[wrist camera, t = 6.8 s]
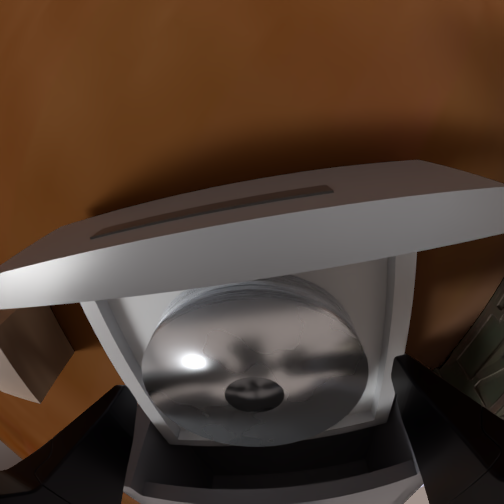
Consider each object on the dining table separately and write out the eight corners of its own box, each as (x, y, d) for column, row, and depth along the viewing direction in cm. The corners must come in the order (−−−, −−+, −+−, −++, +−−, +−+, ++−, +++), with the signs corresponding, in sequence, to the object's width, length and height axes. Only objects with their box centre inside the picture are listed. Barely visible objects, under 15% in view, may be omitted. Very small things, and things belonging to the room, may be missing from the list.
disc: (351, 402, 10) (359, 432, 9) (191, 418, 11) (185, 447, 9) (355, 251, 8) (376, 278, 6) (126, 286, 8) (104, 315, 7)
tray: (397, 391, 12) (423, 456, 8) (157, 418, 13) (139, 481, 9) (418, 158, 8) (510, 183, 4) (60, 225, 9) (-17, 275, 5)
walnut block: (74, 352, 12) (40, 403, 9) (33, 349, 13) (1, 391, 9) (40, 287, 11) (-9, 333, 7) (3, 293, 11) (-39, 331, 8)
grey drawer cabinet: (374, 452, 16) (389, 516, 10) (206, 470, 17) (197, 533, 12) (401, 355, 12) (447, 455, 6) (145, 387, 13) (110, 482, 7)
